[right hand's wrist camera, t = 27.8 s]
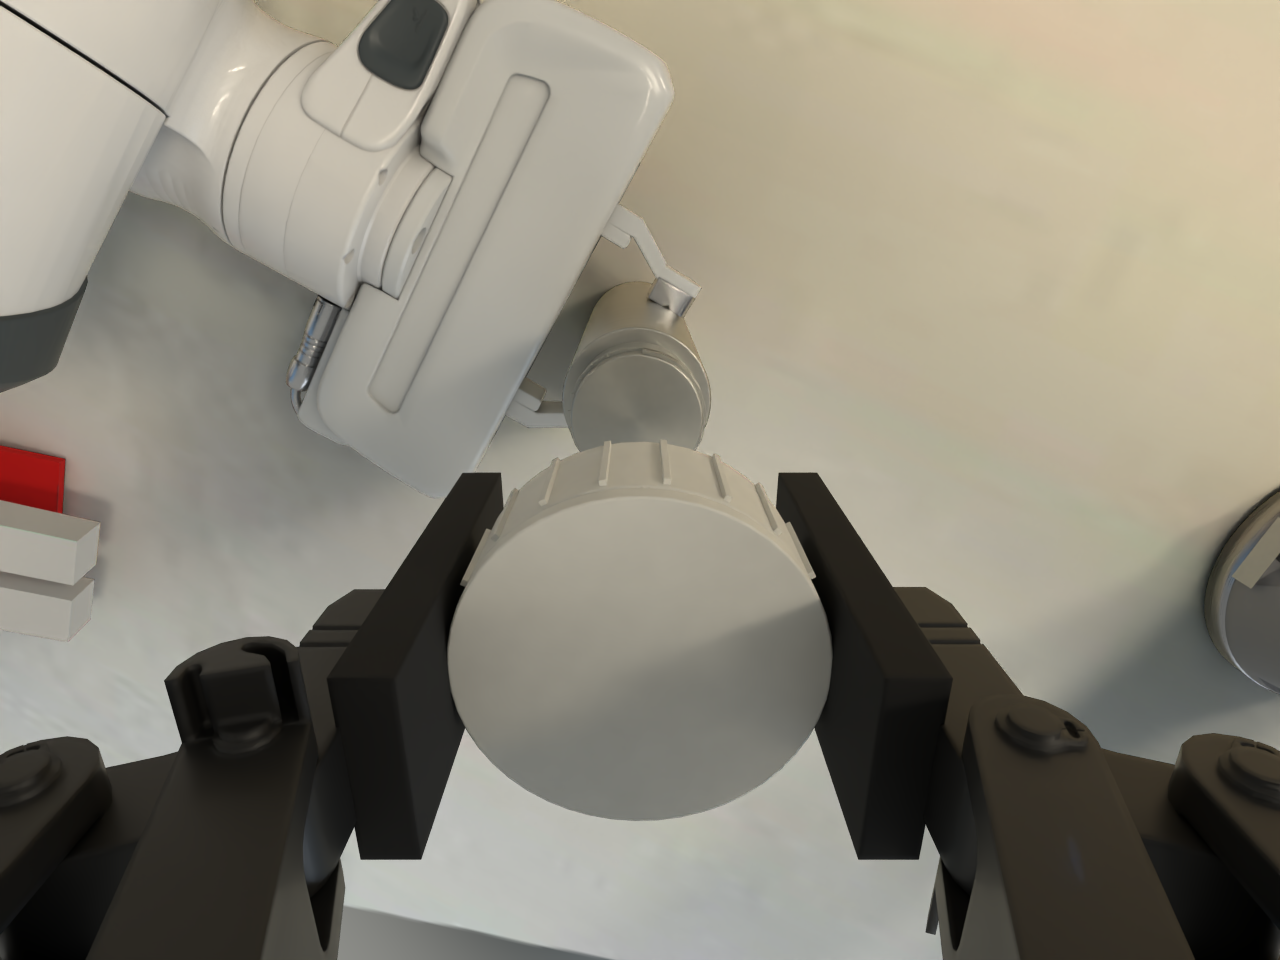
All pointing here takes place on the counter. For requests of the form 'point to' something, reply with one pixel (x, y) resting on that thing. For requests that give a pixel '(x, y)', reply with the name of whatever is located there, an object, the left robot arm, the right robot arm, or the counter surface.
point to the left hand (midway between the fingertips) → (654, 364)
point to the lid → (639, 635)
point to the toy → (42, 550)
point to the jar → (635, 375)
